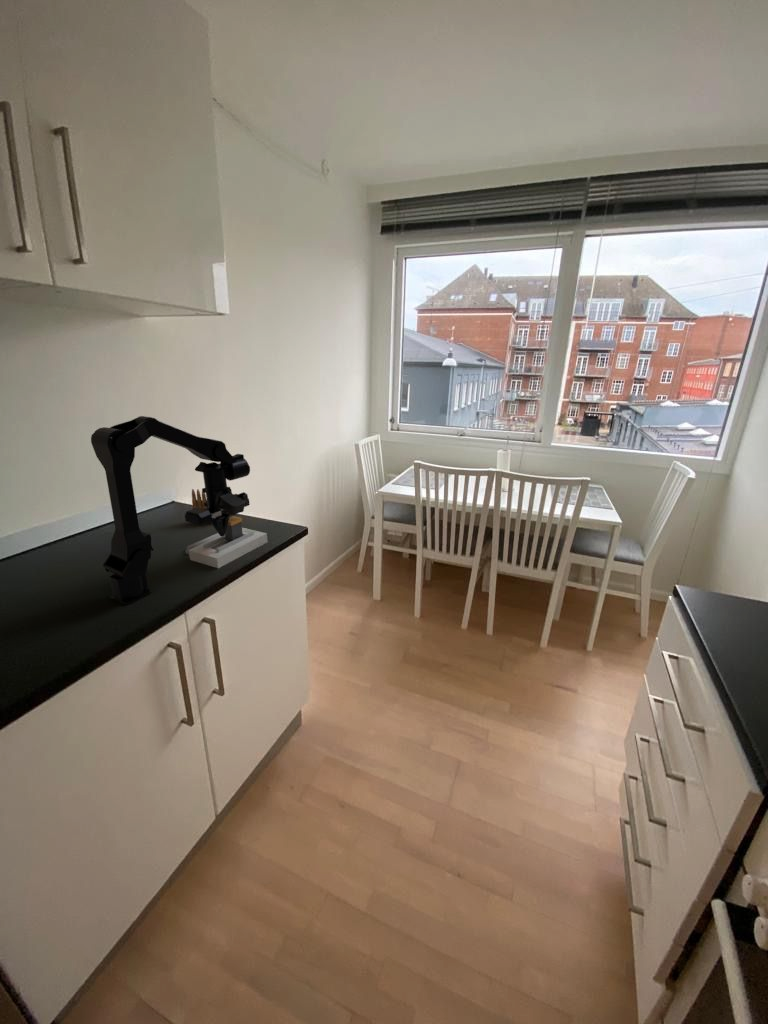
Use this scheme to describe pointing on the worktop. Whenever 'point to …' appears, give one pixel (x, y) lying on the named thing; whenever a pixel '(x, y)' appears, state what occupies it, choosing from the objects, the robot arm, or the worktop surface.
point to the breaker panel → (227, 548)
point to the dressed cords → (201, 542)
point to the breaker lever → (234, 528)
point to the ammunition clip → (199, 500)
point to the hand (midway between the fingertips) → (222, 535)
